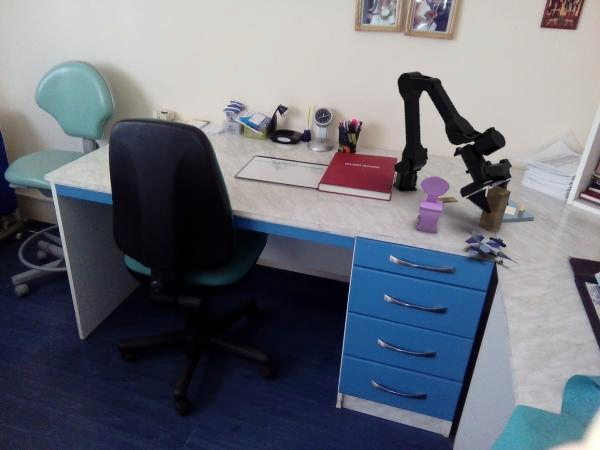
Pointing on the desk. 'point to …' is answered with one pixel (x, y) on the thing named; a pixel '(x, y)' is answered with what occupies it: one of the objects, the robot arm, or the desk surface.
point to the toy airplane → (487, 246)
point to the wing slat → (447, 199)
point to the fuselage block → (494, 208)
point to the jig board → (515, 213)
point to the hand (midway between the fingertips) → (498, 209)
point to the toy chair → (431, 203)
